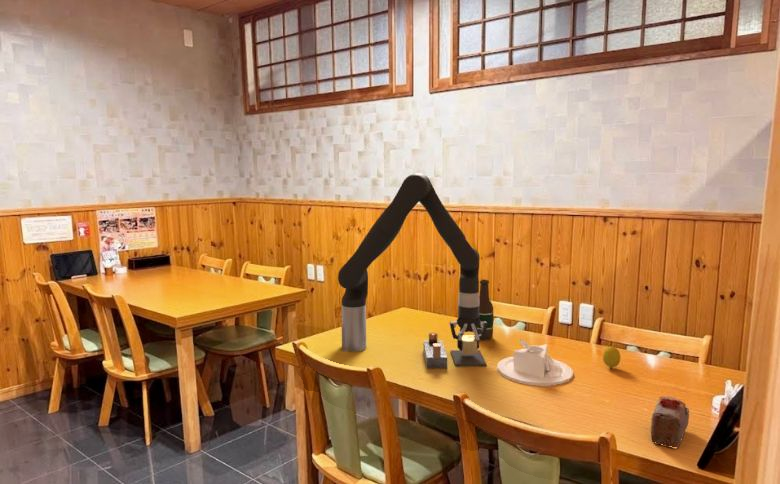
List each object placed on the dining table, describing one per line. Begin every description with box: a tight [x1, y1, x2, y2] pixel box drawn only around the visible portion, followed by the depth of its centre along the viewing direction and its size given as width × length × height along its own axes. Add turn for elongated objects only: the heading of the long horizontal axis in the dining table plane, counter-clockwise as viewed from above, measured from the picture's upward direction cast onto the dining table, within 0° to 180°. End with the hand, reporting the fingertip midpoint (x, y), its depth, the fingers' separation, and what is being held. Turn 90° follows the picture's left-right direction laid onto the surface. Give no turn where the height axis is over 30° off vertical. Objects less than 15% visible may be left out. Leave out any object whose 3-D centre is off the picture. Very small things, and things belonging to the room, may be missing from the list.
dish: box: [497, 339, 574, 387], centre depth 177 cm, size 25×25×11 cm
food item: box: [650, 396, 690, 449], centre depth 134 cm, size 14×8×10 cm, turn 147°
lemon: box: [602, 345, 621, 369], centre depth 179 cm, size 6×6×8 cm
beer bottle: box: [473, 279, 494, 341], centre depth 212 cm, size 8×8×24 cm
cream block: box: [461, 334, 478, 354], centre depth 188 cm, size 5×8×4 cm, turn 0°
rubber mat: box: [449, 349, 488, 367], centre depth 189 cm, size 11×14×1 cm
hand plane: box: [423, 332, 448, 370], centre depth 189 cm, size 18×7×8 cm, turn 0°
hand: (468, 349), depth 189 cm, fingers closed on cream block, 5 cm apart
